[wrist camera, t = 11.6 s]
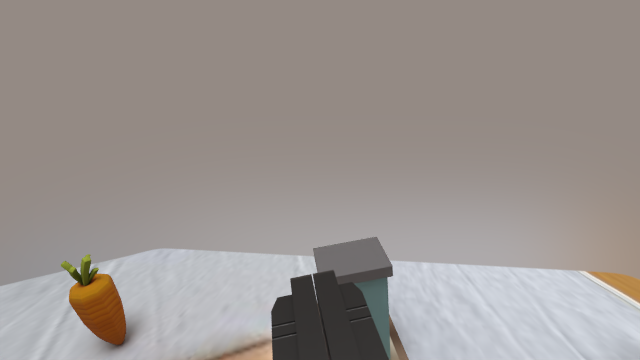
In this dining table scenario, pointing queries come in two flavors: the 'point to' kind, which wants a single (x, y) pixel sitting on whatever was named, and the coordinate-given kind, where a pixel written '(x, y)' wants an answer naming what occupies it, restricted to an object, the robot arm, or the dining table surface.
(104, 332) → the carrot
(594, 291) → the dining table surface
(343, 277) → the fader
